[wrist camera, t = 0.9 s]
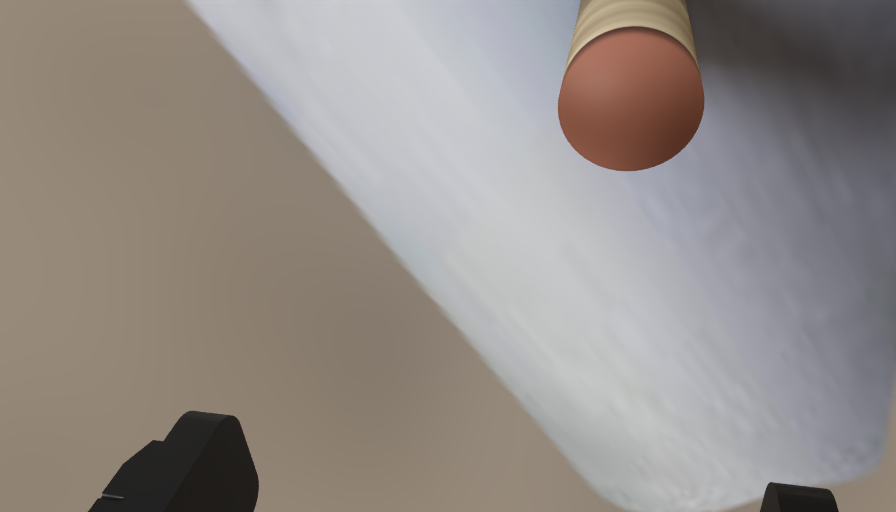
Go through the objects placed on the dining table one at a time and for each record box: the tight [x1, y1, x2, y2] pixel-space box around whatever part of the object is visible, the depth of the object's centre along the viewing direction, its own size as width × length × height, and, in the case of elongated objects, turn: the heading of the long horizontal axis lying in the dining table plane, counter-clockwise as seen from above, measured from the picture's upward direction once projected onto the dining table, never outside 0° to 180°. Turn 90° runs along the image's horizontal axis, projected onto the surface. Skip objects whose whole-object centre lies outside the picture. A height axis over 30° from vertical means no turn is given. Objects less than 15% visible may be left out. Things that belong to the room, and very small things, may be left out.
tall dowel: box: [558, 0, 704, 171], centre depth 25 cm, size 4×4×11 cm
